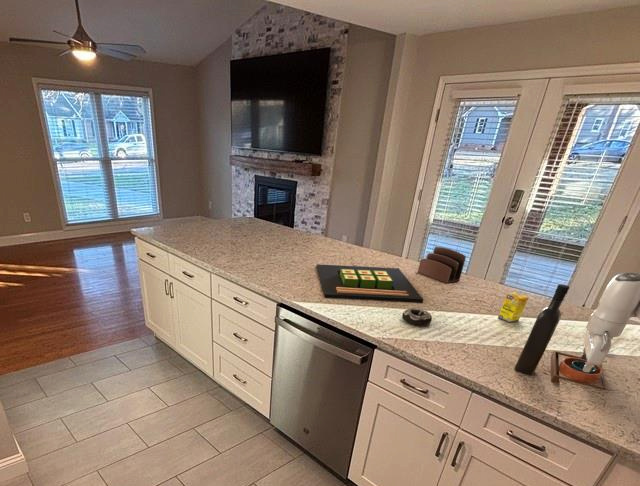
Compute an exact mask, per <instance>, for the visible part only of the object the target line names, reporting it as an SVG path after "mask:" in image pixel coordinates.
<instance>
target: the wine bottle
mask: <svg viewBox="0 0 640 486" xmlns="http://www.w3.org/2000/svg"><path fill="white" fill-rule="evenodd" d="M569 289H570V286H569V285H566V284H562V283H561V284H557V286H556V289H555V291H554V294H553V296H552V298H551V300H550V303H549V304H548V306H547V307H544V308H543V309H542V310H541V311H540V312H539V314H538V315H537V317H536V320H535V322H534V324H533V326H532V328H531V330H530V332H529V335H528V337H527V340H526V341H525V344H524V346H523V348H522V350H521V353H520V355H519V357H518V360H517V362H516V364H515V366H514V371H516V372H519V373H522V374H525V375H527V376H533V375H534V373H535V372H536V370H537V368H538V366H539V364H540V362H541V360H542V358H543V356H544V354H545V352H546V349H547V348H548V346H549V344H550V342H551V339H552V338H553V335H554V333H555V332H556V329H557V327H558V325H559V323H560V321H561V319H562V312H561V310H560V308H561V305H562V303H563V302H564V299H565V297H566V295H567V294H568V291H569Z"/></svg>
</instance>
